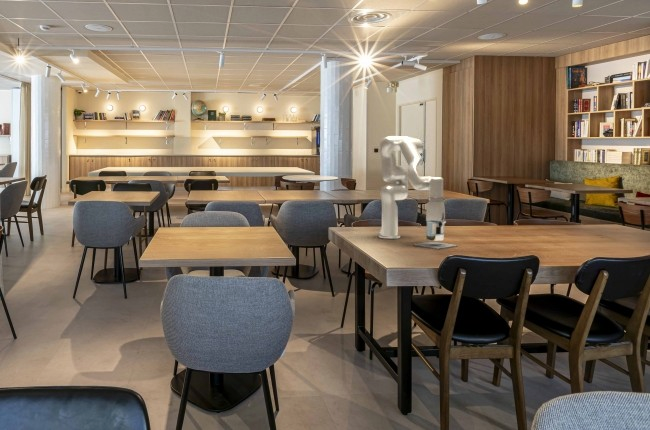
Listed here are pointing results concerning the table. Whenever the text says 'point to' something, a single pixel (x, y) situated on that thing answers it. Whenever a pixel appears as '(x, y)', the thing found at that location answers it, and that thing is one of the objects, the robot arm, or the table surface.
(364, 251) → the table surface
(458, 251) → the table surface
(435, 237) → the medicine bottle
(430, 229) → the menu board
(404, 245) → the table surface
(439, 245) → the mat
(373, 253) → the table surface
